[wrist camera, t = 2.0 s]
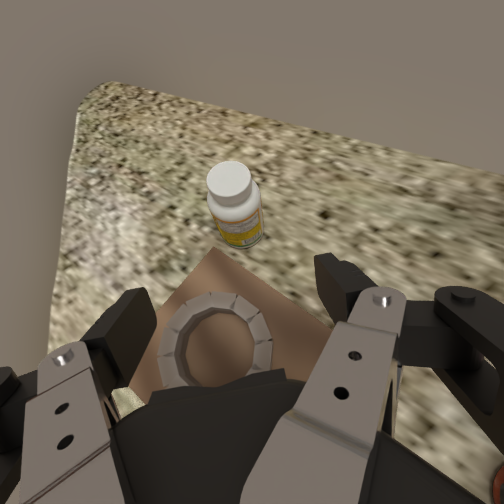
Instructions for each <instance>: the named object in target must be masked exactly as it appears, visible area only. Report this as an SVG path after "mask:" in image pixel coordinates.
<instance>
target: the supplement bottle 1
mask: <svg viewBox="0 0 504 504" xmlns="http://www.w3.org/2000/svg"><path fill="white" fill-rule="evenodd" d="M207 186H208V189H209V192H208V195H207V203H208V207H209V210H210V212H211V214H212V216H213V218H214V221H215V223H216V225H217V227H218V229H219V231H220V234H221V236H222V237H223V239H224V241H225V242H226V243H227V244H228V245H230V246H231V247H234V248H239V249H243V248H248V247H251V246H253V245H255V244H256V243H257V242H258V241H259V240H260V239H261V237H262V235H263V232H264V222H263V213H262V204H261V195H260V190H259V188H258V186H257V184H256V183H255V182H254V181H253V180H252V179H251V174H250V171H249V169H248V168H247V167H246V166H245V165H244V164H242V163H240V162H237V161H225V162H221V163H219V164H217V165H216V166H214V167H213V168H212V169H211V170H210V171H209V173H208V175H207Z"/></svg>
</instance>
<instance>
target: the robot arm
mask: <svg viewBox="0 0 504 504" xmlns="http://www.w3.org/2000/svg"><path fill="white" fill-rule="evenodd" d="M314 266H315V276H316V285H317V291H318V295H319V297H320V299H321V301H322V303H323V304H324V306H325V308H326V310H327V311H328V313H329V315H330V317H331V318H332V320H333V322H334V323H335V325H336V326H335V328H334V330H333V332H332V334H331V336H330V337H329V339H328V341H327V343H326V345H325V347H324V349H323V351H322V353H321V355H320V357H319V359H318V361H317V363H316V365H315V367H314V369H313V371H312V372H311V374H310V376H309V378H308V380H307V382H305V381H301V380H296V379H287V378H286V374H285V369H284V368H280V369H275V370H269V371H263V372H258V373H252V374H249V375H247V376H244V377H242V378H239V379H237V380H235V381H232V382H230V383H227V384H225V385H222V386H219V387H199V386H180V387H174V388H169V389H163V390H158V391H152V394H151V396H150V399H149V402H148V404H147V405H144V406H142V407H140V408H138V409H136V410H135V411H133V412H131V413H130V414H128V415H127V416H125V417H124V418H122V419H121V416H120V414H119V411H118V408H117V406H116V403H115V400H114V398H113V396H112V394H111V393H112V391H113V389H118V388H124V387H128V386H129V384H130V382H131V379H132V377H133V375H134V373H135V371H136V369H137V367H138V365H139V363H140V361H141V359H142V357H143V355H144V352H145V350H146V348H147V346H148V344H149V342H150V340H151V338H152V336H153V334H154V332H155V330H156V327H157V317H156V314H155V311H154V308H153V306H152V303H151V300H150V298H149V295H148V292H147V290H146V289H145V288H144V287H141V288H135V289H130V290H126V291H125V292H124V293H123V294H122V296H121V297H120V298H119V299H118V300H117V302H116V303H115V304H113V305H112V306H111V307H109V308H108V309H106V311H105V312H104V313H103V314H102V315H101V316H100V318H99V319H98V320H97V321H96V322H95V324H94V325H93V326H92V327H91V328H90V329H89V330H88V331H87V332H86V334H85V335H84V336H83V337H82V338H81V339H80V340H79V341H77V342H72V343H69V344H66V345H64V346H61V347H59V348H57V349H56V350H54V351H53V352H51V353H50V354H48V355H47V356H46V357H45V358H44V359H43V360H42V361H41V362H40V363H39V365H38V370H35V371H32V372H30V373H27V374H24V375H22V376H19V377H17V375H16V374H15V372H14V371H13V370H12V368H11V367H1V368H0V504H5V503H6V501H7V500H8V498H9V496H10V495H11V493H12V492H13V490H14V489H15V487H16V485H17V484H18V482H19V481H20V495H19V504H486V503H484V502H483V501H482V500H480V499H479V498H477V497H476V496H475V495H473V494H472V493H470V492H469V491H467V490H466V489H465V488H463V487H462V486H460V485H459V484H458V483H456V482H455V481H453V480H452V479H450V478H449V477H448V476H446V475H445V474H443V473H442V472H441V471H439V470H438V469H436V468H435V467H433V466H432V465H431V464H429V463H428V462H426V461H425V460H423V459H422V458H421V457H419V456H418V455H416V454H415V453H414V452H412V451H411V450H409V449H408V448H406V447H405V446H404V445H402V444H401V443H399V442H398V441H397V440H395V439H394V433H395V423H396V413H397V406H398V399H399V393H400V386H401V380H402V373H403V366H404V365H405V366H417V367H429V368H432V370H433V371H434V372H435V373H436V375H437V376H438V377H439V378H440V379H441V381H442V382H443V383H444V384H445V385H446V387H447V388H448V389H449V390H450V391H451V393H452V394H453V395H454V396H455V397H456V399H457V400H458V401H459V402H460V404H461V405H462V406H463V407H464V408H465V410H466V411H467V412H468V413H469V414H470V416H471V417H472V418H473V419H474V420H475V422H476V423H477V424H478V425H479V426H480V428H481V429H482V430H483V431H484V432H485V434H486V435H487V436H488V437H489V438H490V440H491V441H492V442H493V443H494V444H495V446H496V447H497V448H498V449H499V451H500V452H501V453H502V454H503V455H504V304H502V303H501V302H499V301H497V300H496V299H494V298H492V297H491V296H489V295H487V294H486V293H484V292H481V291H479V290H476V289H472V288H468V287H462V286H447V287H442V288H439V289H438V290H436V292H435V297H434V301H411V300H406V297H405V295H404V294H403V293H401V292H400V291H398V290H396V289H393V288H389V287H379V286H378V285H376V284H375V283H374V282H373V281H372V280H371V279H370V278H369V277H368V276H367V275H365V274H364V273H363V272H362V271H361V270H360V269H359V268H358V267H357V266H356V265H355V264H353V263H350V262H348V261H345V260H344V261H339V260H338V259H337V258H336V257H335V256H334V255H333V254H332V253H331V252H330V253H325V254H320V255H315V256H314ZM484 356H485V357H486V358H487V359H488V360H490V361H491V363H492V364H493V365H494V366H495V368H496V369H495V368H494V367H493V366H491V365H490V364H489V363H488V362H487V361H486V360H485V359H484ZM20 479H21V480H20Z"/></svg>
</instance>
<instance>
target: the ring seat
mask: <svg viewBox="0 0 504 504" xmlns="http://www.w3.org/2000/svg"><path fill="white" fill-rule="evenodd" d="M156 317H157V327H156V330H155V332H154V334H153V336H152V338H151V340H150V342H149V344H148V346H147V348H146V350H145V352H144V355H143V357H142V359H141V361H140V363H139V365H138V367H137V369H136V371H135V373H134V375H133V377H132V379H131V382H130V384H129V387H130V388H131V389H132V390H133V391H134V392H135V394H136V395H137V396H138V397H139V398H140V399H141V400H142V401H143V402H144V403H145V404H146V405H147V404H148V402H149V399H150V396H151V394H152V391H158V390H163V389H169V388H174V387H180V386H199V387H219V386H222V385H225V384H227V383H230V382H232V381H235V380H237V379H239V378H242V377H244V376H247V375H249V374H252V373H258V372H263V371H269V370H275V369H280V368H284V369H285V374H286V378H287V379H296V380H301V381H305V382H306V381H307V380H308V378H309V376H310V374H311V372H312V371H313V369H314V367H315V365H316V363H317V361H318V359H319V357H320V355H321V353H322V351H323V349H324V347H325V345H326V343H327V341H328V339H329V337H330V336H331V334H332V332H333V330H332V329H330V328H329V327H327V326H326V325H325V324H323V323H322V322H320V321H319V320H318V319H316V318H315V317H313V316H312V315H310V314H309V313H308V312H306V311H305V310H303V309H302V308H300V307H299V306H298V305H296V304H295V303H293V302H292V301H291V300H289V299H288V298H286V297H285V296H283V295H282V294H281V293H279V292H278V291H276V290H275V289H273V288H272V287H271V286H269V285H268V284H266V283H265V282H264V281H262V280H261V279H259V278H258V277H256V276H255V275H254V274H252V273H251V272H249V271H248V270H246V269H245V268H244V267H242V266H241V265H239V264H238V263H237V262H235V261H234V260H232V259H231V258H229V257H228V256H227V255H225V254H224V253H222V252H221V251H219V250H218V249H217V248H215V247H213V248H212V249H211V250H210V251H209V252H208V253H207V255H206V256H205V257H204V258H203V259H202V260H201V262H200V263H199V264H198V265H197V266H196V267H195V269H194V270H193V271H192V272H191V273H190V274H189V275H188V277H187V278H186V279H185V280H184V281H183V282H182V284H181V285H180V286H179V287H178V288H177V289H176V290H175V292H174V293H173V294H172V295H171V296H170V297H169V299H168V300H167V301H166V302H165V303H164V304H163V305H162V307H161V308H160V309H159V310H158V311H157V312H156Z"/></svg>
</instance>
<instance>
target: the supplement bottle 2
mask: <svg viewBox="0 0 504 504" xmlns="http://www.w3.org/2000/svg"><path fill="white" fill-rule="evenodd" d="M493 497H494V503H495V504H504V466H503V467H501V468H500V470H499V471H498V473H497V474H496V476H495V479H494V483H493Z"/></svg>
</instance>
